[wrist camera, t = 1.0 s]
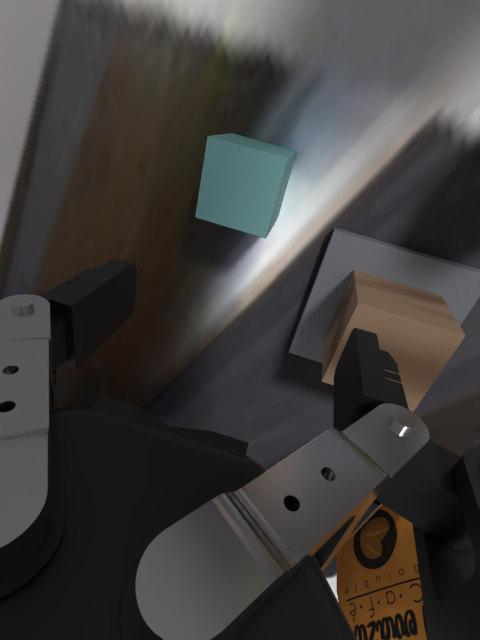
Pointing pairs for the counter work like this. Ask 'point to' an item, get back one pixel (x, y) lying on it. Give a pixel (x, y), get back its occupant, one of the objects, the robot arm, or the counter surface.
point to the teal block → (243, 183)
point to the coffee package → (382, 580)
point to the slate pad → (385, 262)
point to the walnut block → (395, 330)
